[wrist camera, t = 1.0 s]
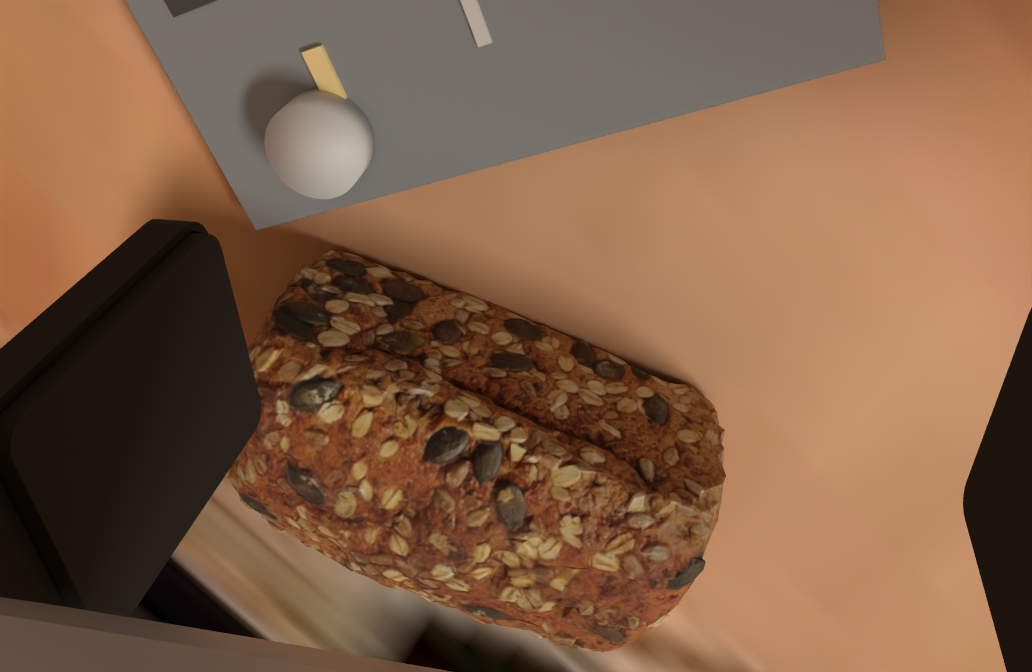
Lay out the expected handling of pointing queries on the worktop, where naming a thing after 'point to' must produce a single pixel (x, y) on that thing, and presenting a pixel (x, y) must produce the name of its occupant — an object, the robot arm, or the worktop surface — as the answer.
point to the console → (465, 80)
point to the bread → (478, 456)
